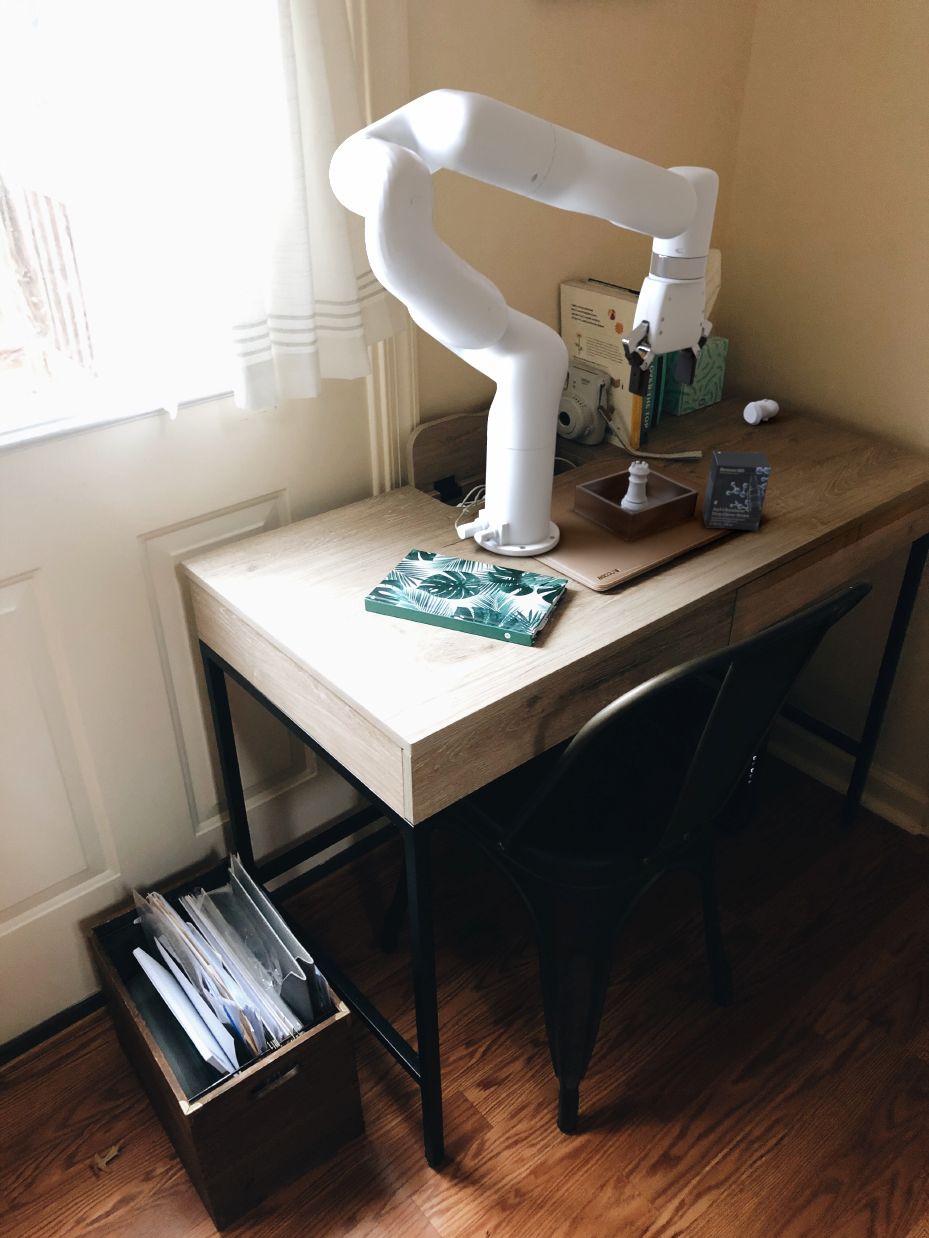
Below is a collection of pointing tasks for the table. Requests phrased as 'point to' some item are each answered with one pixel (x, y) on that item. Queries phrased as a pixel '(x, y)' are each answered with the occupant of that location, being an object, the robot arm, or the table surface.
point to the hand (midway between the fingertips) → (660, 388)
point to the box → (736, 490)
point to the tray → (664, 510)
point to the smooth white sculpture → (760, 411)
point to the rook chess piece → (636, 488)
